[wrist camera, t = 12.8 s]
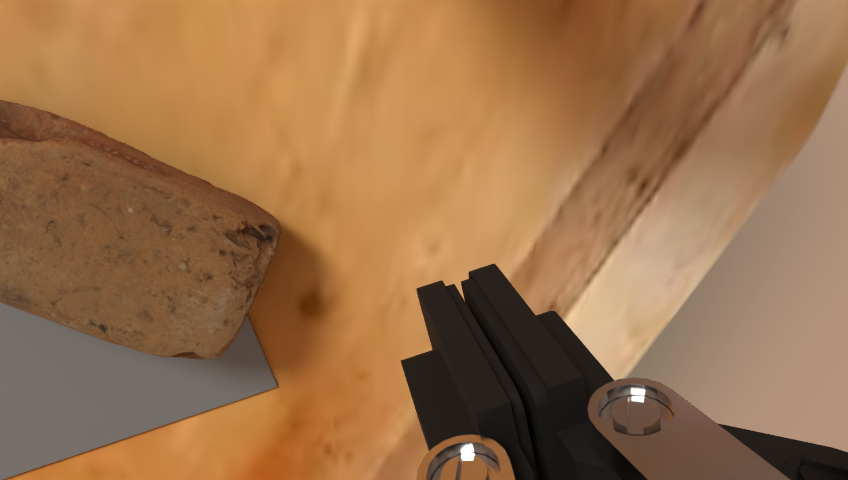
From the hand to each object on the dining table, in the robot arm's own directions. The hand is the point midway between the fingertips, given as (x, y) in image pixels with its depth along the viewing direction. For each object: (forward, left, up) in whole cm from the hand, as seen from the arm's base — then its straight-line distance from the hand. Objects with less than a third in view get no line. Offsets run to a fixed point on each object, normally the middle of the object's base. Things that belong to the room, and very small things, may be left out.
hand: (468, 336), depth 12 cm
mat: (+22, +13, -31) cm, 40 cm away
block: (+9, +10, -27) cm, 30 cm away
